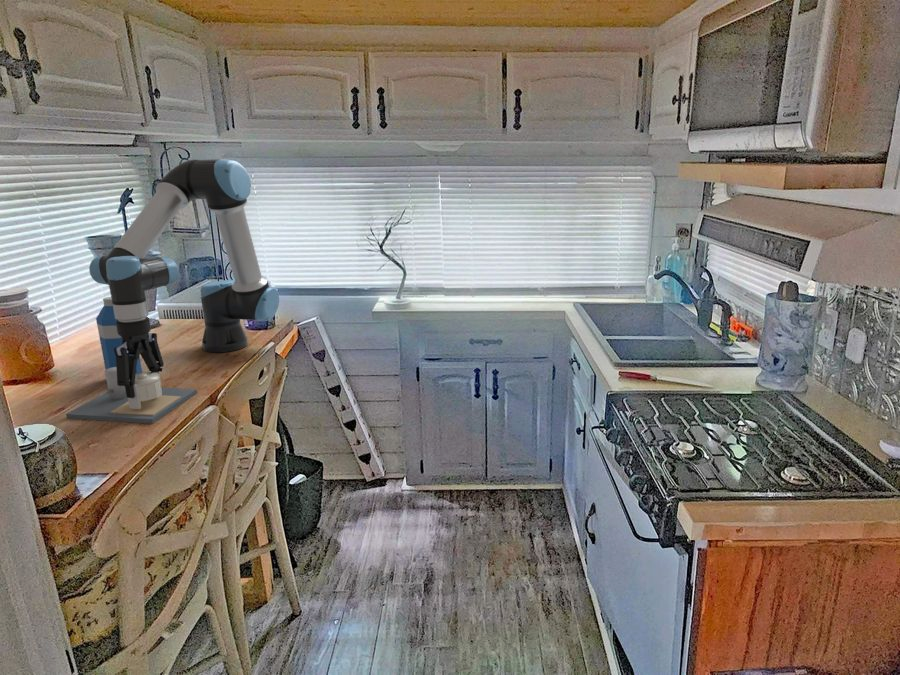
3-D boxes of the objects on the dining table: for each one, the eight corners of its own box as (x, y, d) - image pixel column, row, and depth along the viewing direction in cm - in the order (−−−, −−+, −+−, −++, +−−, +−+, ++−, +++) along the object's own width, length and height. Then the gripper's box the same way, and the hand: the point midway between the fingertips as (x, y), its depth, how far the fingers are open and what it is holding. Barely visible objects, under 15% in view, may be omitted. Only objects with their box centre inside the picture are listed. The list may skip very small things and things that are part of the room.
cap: (162, 387, 158) (159, 367, 156) (160, 398, 151) (157, 377, 149) (129, 392, 155) (126, 371, 153) (126, 403, 148) (122, 382, 146)
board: (119, 389, 167) (114, 358, 165) (197, 393, 164) (192, 362, 162) (66, 418, 148) (59, 384, 146) (153, 423, 145) (147, 389, 143)
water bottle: (143, 380, 174) (129, 299, 167) (107, 386, 169) (92, 303, 162) (141, 371, 182) (128, 293, 174) (107, 376, 177) (92, 296, 170)
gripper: (144, 307, 157) (157, 386, 164) (88, 329, 137) (105, 417, 144) (170, 308, 156) (182, 387, 163) (117, 330, 136) (133, 418, 143)
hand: (146, 401), depth 153 cm, fingers closed on cap, 8 cm apart
